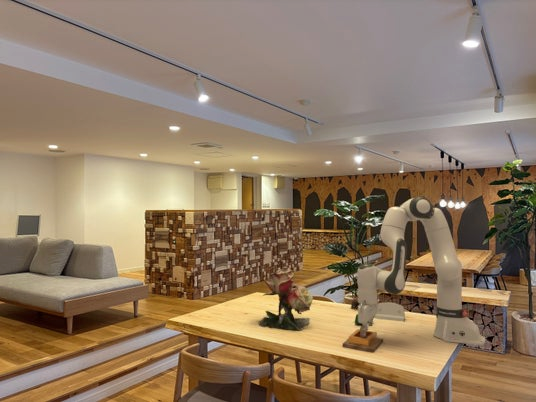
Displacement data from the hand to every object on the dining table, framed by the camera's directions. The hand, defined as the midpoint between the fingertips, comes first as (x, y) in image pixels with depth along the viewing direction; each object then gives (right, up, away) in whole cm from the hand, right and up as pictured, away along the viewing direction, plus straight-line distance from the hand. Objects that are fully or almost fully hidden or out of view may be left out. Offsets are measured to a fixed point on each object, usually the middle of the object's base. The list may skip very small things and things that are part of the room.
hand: (368, 328), depth 186 cm
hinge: (+22, -7, +39) cm, 46 cm away
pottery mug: (+9, -8, +62) cm, 63 cm away
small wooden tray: (-4, -4, -5) cm, 7 cm away
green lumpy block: (+5, -7, +28) cm, 29 cm away
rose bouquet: (-36, -7, +30) cm, 47 cm away
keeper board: (-4, -6, -5) cm, 9 cm away
